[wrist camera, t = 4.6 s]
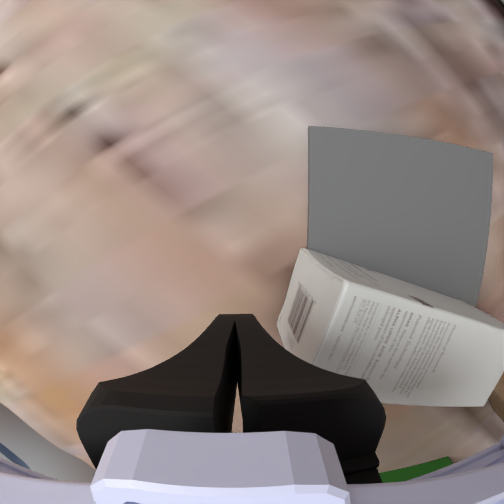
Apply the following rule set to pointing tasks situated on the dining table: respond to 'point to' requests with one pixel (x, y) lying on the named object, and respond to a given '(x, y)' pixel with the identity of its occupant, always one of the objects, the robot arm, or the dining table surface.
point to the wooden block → (498, 398)
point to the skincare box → (390, 334)
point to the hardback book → (414, 471)
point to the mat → (401, 207)
